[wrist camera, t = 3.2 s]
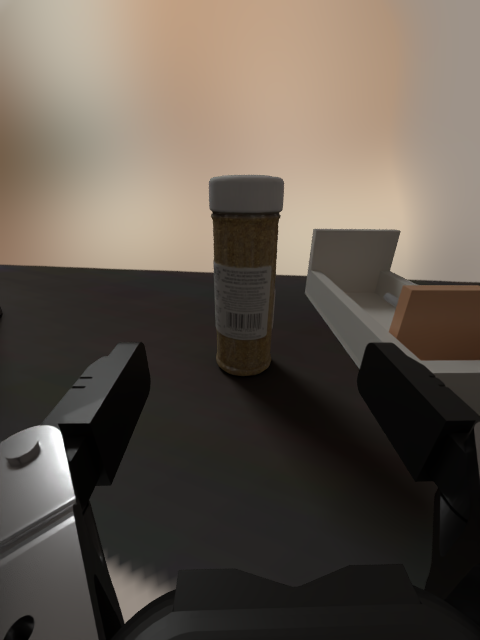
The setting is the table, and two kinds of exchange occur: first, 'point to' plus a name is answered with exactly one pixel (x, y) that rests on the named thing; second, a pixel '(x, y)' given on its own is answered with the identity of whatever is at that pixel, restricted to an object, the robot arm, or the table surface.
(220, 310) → the sprinkles bottle
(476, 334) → the pusher
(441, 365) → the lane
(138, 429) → the table surface
